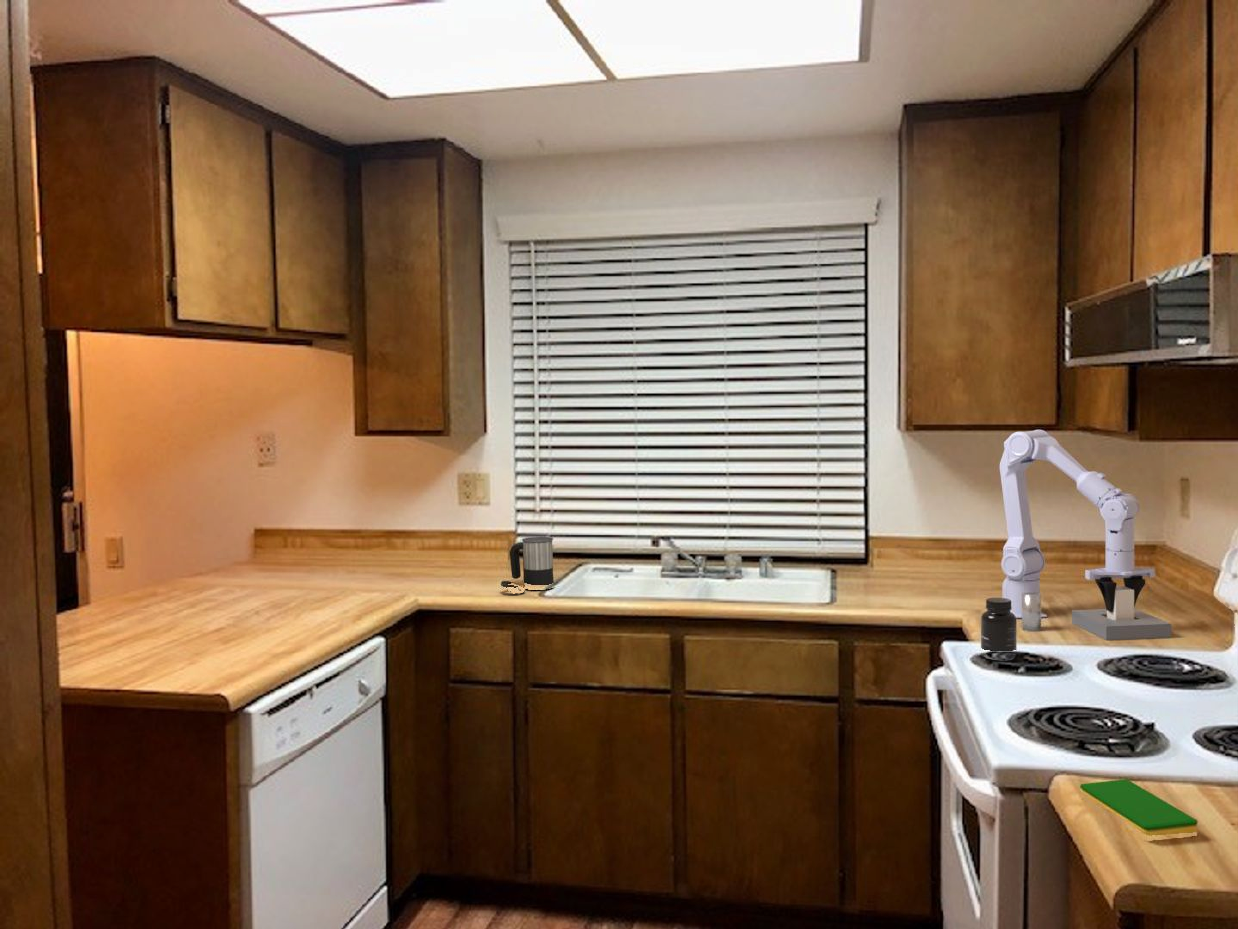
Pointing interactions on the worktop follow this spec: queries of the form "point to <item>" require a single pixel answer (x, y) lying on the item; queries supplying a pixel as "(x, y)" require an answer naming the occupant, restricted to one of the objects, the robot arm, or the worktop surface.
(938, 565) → the worktop surface
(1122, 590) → the square peg
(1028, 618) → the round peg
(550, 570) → the milk frother
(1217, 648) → the worktop surface
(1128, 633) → the socket plate
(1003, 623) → the supplement bottle
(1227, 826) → the worktop surface
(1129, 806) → the dish sponge
